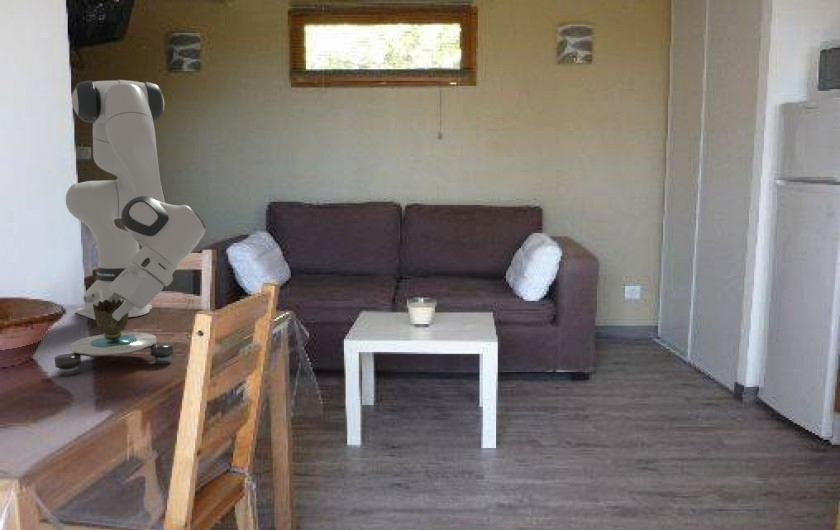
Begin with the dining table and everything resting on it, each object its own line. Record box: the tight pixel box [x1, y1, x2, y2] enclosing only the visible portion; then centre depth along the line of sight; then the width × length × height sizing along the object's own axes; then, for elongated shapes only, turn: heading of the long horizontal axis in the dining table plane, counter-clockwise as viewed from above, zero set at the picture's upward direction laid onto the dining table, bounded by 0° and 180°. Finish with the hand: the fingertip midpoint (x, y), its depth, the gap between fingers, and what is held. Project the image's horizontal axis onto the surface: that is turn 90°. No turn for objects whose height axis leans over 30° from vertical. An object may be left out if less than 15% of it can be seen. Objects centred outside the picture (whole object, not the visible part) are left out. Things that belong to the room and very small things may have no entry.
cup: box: [93, 299, 129, 340], centre depth 166 cm, size 8×7×8 cm
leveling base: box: [54, 331, 175, 377], centre depth 164 cm, size 24×22×6 cm
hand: (109, 314), depth 165 cm, fingers open, 8 cm apart
